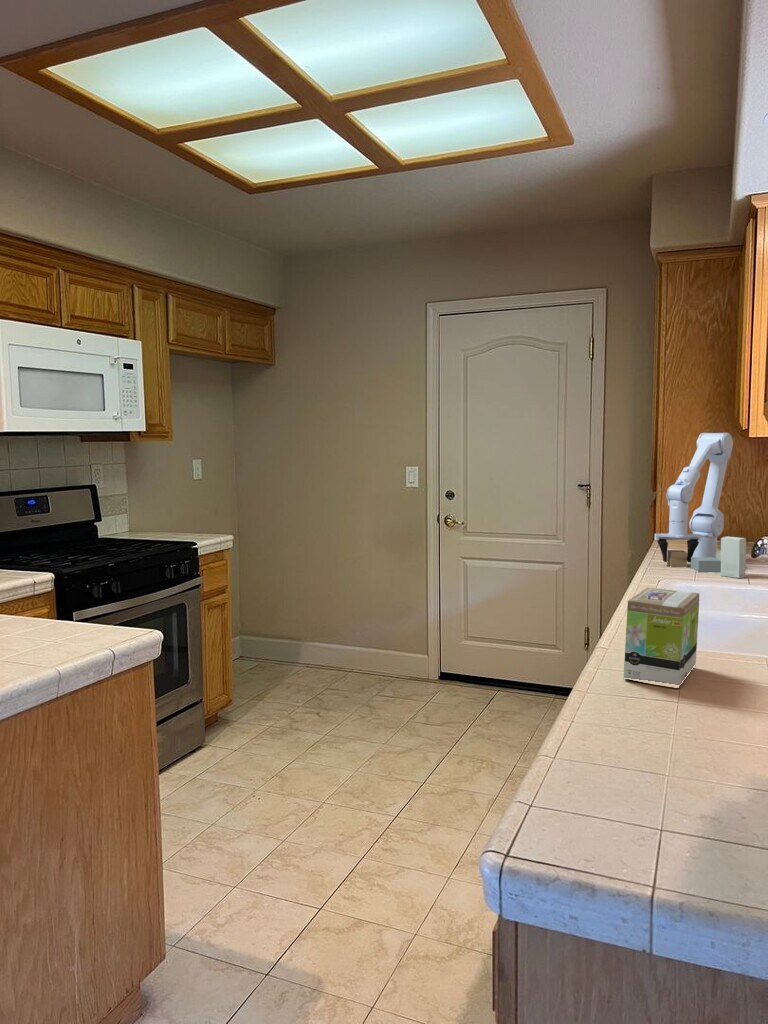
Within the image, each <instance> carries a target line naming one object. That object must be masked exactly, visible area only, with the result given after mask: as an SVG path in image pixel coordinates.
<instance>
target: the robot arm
mask: <svg viewBox="0 0 768 1024" xmlns="http://www.w3.org/2000/svg"><path fill="white" fill-rule="evenodd" d="M733 445H734V440H733V437H732V435H731V434H730V433H729V432H715V433H714V432H702V433H700V434H699V436H698V438H697V440H696V450H695V452H694V455H693V457H692V459H691V461H690V464H689V466H685V467H683V469H682V471H681V473H680V474H679V476H678V477H677V479H676V481H675V483H674V484H672V485H670V486H669V487H668V488H667V491H666V493H665V496H666V500H667V505H668V507H669V513H668V514H669V515H668V516H669V517H668V518H669V519H668V521H669V523H668V533H654V540H655V541H657V544H658V546H659V549H660V552H661V555H662V561H663V562H664V563H667V553H668V547H669V542H668V541H686V544H687V551H686V552H687V563H691V557H714V558H716V552H718V537H720V535H722V533H723V531H724V529H725V524H724V523H725V521H724V520H725V515H724V513H723V512H722V511H720V509H719V504H720V499H721V495H722V490H723V486H724V480H725V475H726V471H727V467H728V461H729V459H730V458H731V455H732V452H733ZM707 460H709V462H710V464H709V468H708V473H707V478H706V482H705V483H706V484H705V486H704V487H705V488H704V492H703V498H702V502H701V506H699V507H697V508H696V509H695V510H693V514H692V516H691V517H690V519H689V503H690V502H691V500H692V499H693V497H694V491H695V486H696V484H697V482H698V481H699V479H700V477H701V472H700V470H701V469H702V468H703V466H704V464H705V463H706V461H707ZM688 521H689V522H688ZM688 524H689V525H688ZM688 527H689V530H690V531H691V533H688Z"/></svg>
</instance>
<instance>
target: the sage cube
mask: <svg viewBox="0 0 768 1024" xmlns="http://www.w3.org/2000/svg"><path fill="white" fill-rule="evenodd" d="M716 559H718V560H721V551H717V552H716Z"/></svg>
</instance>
